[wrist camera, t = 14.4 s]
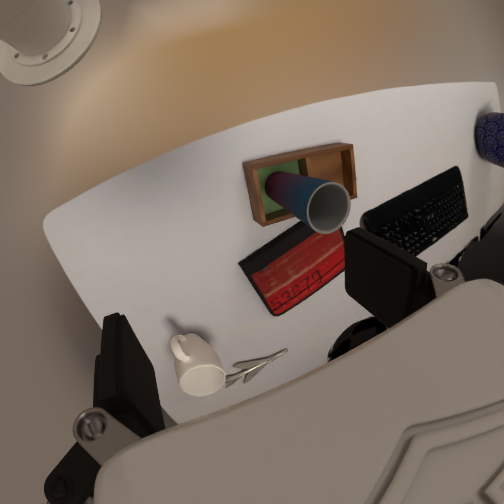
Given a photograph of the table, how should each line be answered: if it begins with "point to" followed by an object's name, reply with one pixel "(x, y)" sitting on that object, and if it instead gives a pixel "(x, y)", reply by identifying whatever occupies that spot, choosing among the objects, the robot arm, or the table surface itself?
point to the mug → (196, 365)
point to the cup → (310, 200)
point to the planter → (491, 137)
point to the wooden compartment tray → (302, 163)
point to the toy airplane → (251, 368)
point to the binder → (294, 266)
